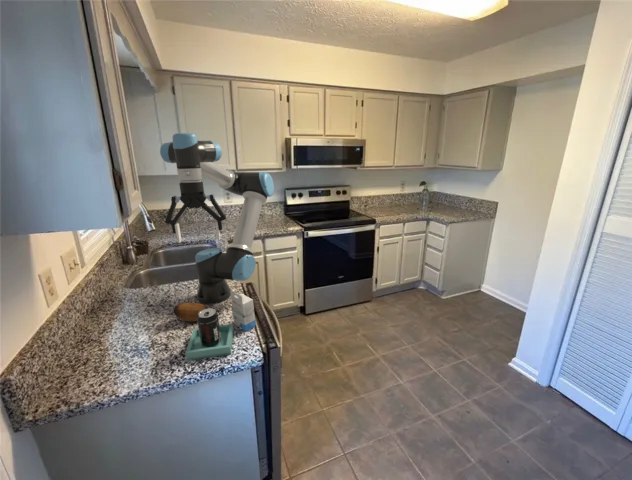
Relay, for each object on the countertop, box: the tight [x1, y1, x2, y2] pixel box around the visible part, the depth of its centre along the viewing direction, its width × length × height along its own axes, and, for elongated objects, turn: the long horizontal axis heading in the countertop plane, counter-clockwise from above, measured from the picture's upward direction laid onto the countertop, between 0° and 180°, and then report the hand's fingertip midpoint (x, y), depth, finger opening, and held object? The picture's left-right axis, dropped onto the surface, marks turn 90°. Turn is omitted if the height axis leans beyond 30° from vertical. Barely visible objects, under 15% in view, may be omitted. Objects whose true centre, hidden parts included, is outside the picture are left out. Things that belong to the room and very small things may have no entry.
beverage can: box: [196, 308, 221, 347], centre depth 101 cm, size 7×7×12 cm
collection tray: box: [184, 323, 235, 362], centre depth 103 cm, size 14×14×3 cm
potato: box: [172, 302, 209, 323], centre depth 118 cm, size 8×13×8 cm
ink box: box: [230, 290, 256, 332], centre depth 112 cm, size 8×5×15 cm, turn 47°
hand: (199, 240), depth 106 cm, fingers open, 13 cm apart
